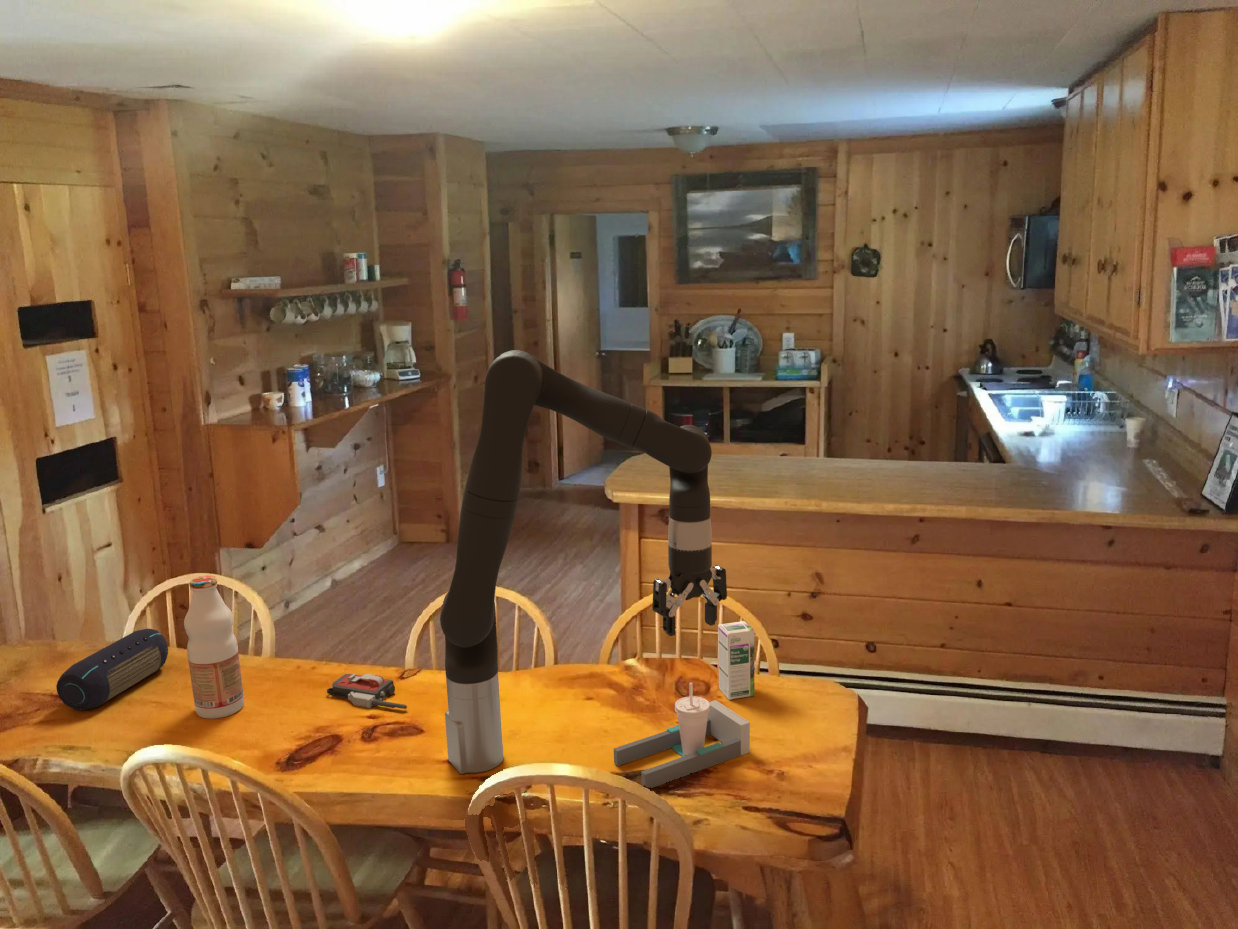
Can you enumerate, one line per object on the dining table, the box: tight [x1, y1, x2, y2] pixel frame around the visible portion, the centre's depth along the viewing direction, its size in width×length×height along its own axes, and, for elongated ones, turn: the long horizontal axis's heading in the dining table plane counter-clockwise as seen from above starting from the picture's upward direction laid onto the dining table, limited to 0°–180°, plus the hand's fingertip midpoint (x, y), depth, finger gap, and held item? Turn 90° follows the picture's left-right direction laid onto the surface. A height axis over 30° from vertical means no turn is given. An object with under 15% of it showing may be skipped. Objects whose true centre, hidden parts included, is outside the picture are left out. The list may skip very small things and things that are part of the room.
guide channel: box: [613, 699, 751, 789], centre depth 180 cm, size 22×11×6 cm, turn 121°
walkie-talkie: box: [326, 673, 408, 710], centre depth 207 cm, size 9×4×20 cm
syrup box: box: [717, 620, 755, 701], centre depth 204 cm, size 6×6×14 cm
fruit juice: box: [183, 575, 245, 719], centre depth 201 cm, size 9×9×28 cm
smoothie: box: [674, 682, 710, 756], centre depth 181 cm, size 6×6×14 cm
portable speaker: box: [55, 628, 169, 711], centre depth 214 cm, size 25×10×10 cm, turn 164°
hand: (690, 629), depth 177 cm, fingers open, 8 cm apart
